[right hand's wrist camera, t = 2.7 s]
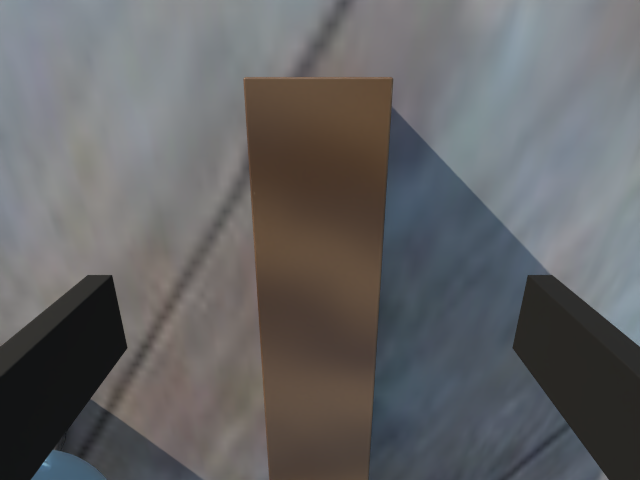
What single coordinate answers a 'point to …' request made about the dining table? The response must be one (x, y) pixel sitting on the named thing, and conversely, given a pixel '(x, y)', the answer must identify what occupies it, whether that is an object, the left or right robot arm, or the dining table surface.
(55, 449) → the left robot arm
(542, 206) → the dining table surface
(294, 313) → the beam
